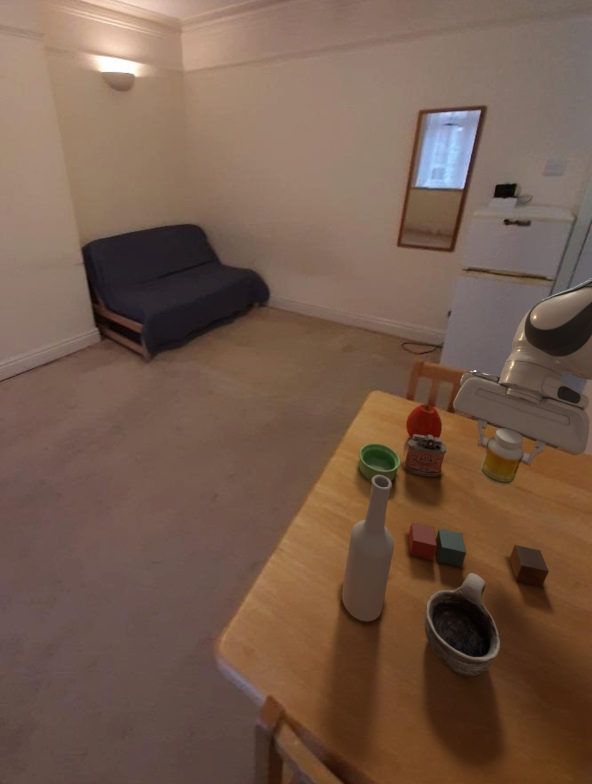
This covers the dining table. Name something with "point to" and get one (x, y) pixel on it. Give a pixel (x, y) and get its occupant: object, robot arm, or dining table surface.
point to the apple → (424, 421)
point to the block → (450, 547)
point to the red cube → (422, 541)
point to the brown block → (528, 565)
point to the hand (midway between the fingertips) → (503, 455)
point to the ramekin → (378, 461)
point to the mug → (462, 628)
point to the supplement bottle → (502, 457)
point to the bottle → (369, 557)
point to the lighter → (425, 455)
